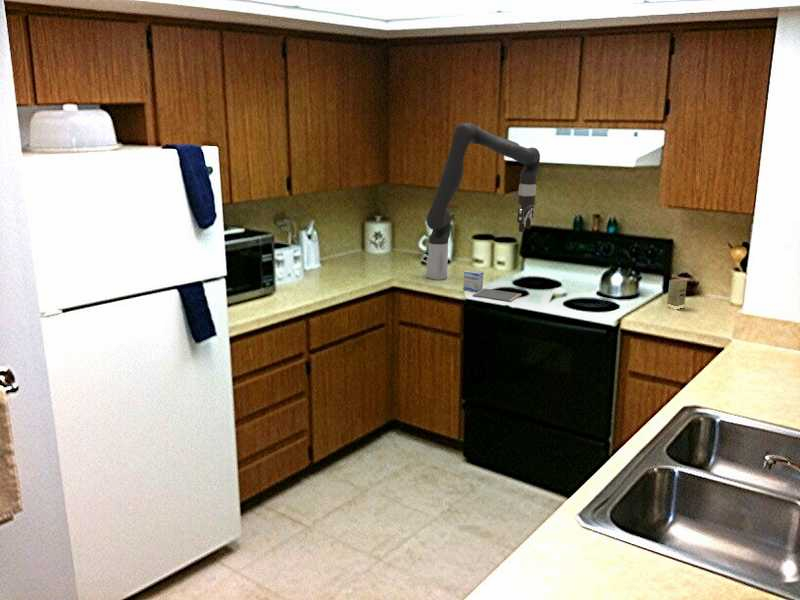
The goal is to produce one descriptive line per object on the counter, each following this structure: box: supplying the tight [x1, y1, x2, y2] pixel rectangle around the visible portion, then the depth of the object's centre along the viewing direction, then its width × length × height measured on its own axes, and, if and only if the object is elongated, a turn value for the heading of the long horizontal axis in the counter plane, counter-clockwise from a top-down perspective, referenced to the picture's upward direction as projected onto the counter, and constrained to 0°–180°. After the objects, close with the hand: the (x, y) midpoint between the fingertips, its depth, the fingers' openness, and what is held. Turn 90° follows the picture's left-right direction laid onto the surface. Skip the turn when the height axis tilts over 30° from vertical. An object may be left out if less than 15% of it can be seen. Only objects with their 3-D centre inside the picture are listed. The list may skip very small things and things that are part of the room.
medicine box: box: [463, 269, 484, 293], centre depth 342 cm, size 8×4×9 cm, turn 62°
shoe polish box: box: [666, 278, 688, 306], centre depth 318 cm, size 5×5×12 cm
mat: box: [472, 287, 522, 303], centre depth 335 cm, size 18×13×1 cm
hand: (524, 230), depth 337 cm, fingers open, 8 cm apart
